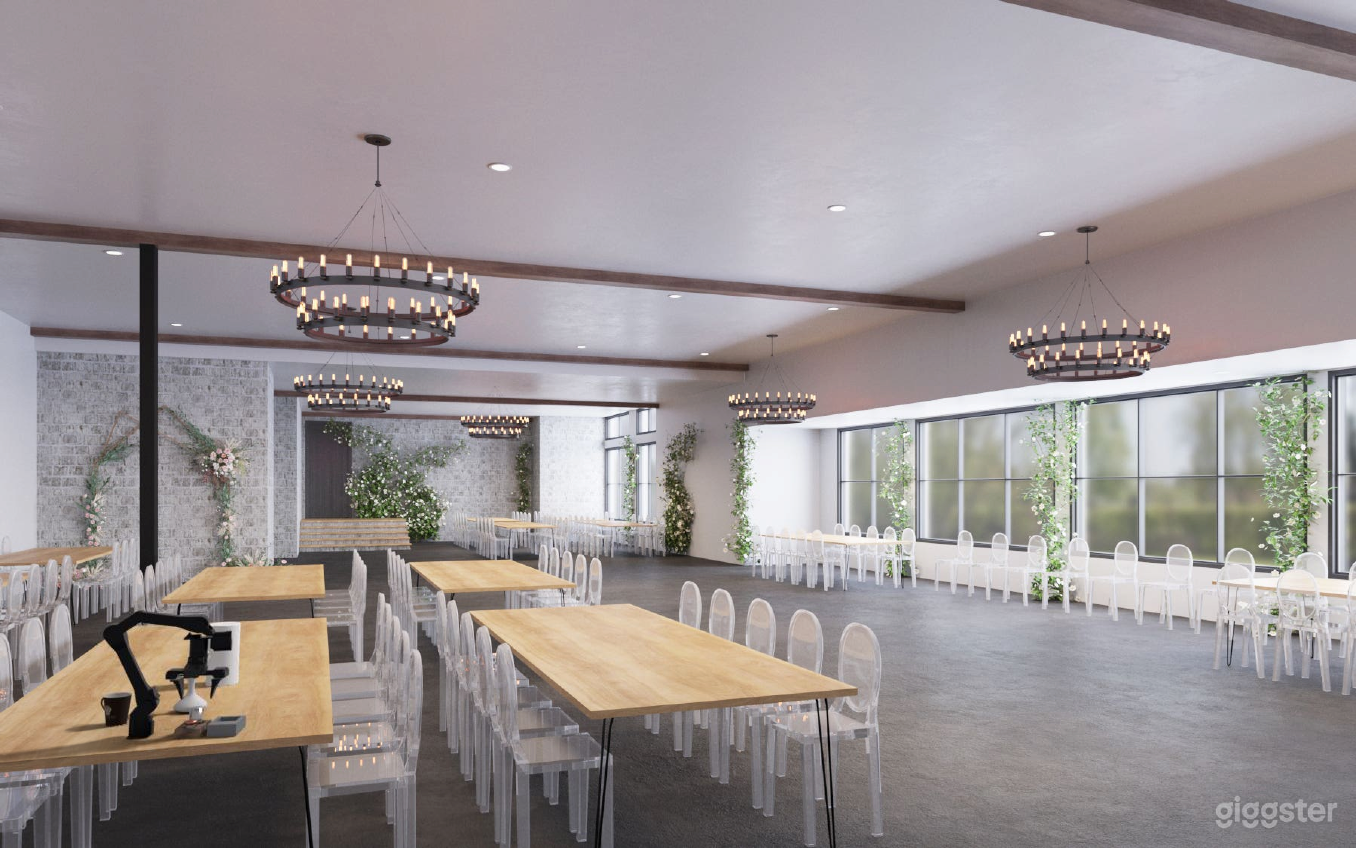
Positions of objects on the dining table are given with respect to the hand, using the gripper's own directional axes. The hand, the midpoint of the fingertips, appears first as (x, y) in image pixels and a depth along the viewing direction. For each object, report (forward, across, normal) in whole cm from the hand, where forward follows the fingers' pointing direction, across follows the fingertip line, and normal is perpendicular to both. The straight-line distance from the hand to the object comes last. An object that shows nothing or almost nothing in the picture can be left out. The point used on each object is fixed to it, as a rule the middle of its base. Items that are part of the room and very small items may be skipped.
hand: (196, 699), depth 314 cm
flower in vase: (+11, -11, +33) cm, 36 cm away
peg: (+11, 0, 0) cm, 11 cm away
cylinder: (+11, -14, +82) cm, 84 cm away
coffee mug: (+11, -31, +17) cm, 37 cm away
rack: (+11, +10, -2) cm, 15 cm away
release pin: (+10, 0, -6) cm, 12 cm away
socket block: (+11, 0, -2) cm, 11 cm away
